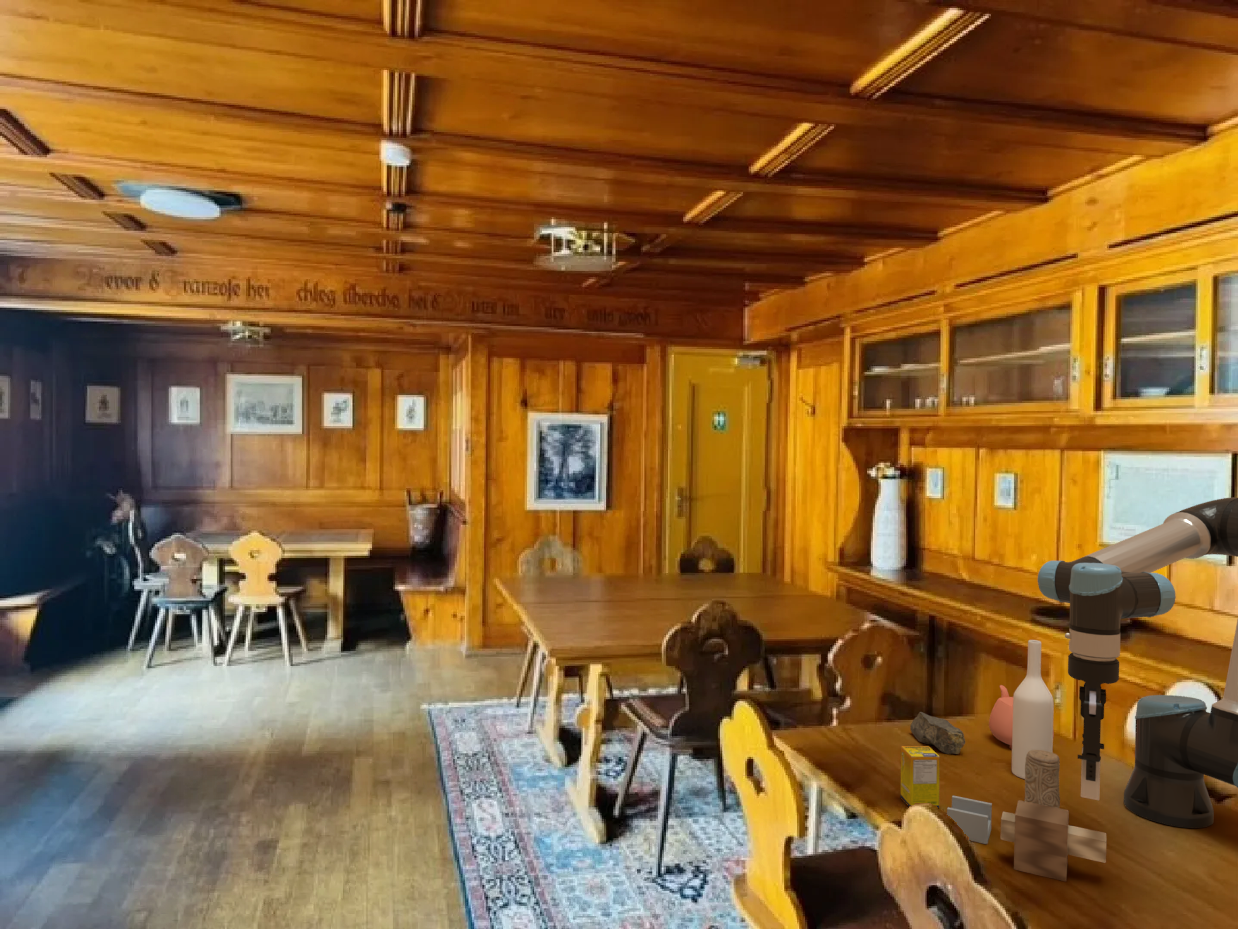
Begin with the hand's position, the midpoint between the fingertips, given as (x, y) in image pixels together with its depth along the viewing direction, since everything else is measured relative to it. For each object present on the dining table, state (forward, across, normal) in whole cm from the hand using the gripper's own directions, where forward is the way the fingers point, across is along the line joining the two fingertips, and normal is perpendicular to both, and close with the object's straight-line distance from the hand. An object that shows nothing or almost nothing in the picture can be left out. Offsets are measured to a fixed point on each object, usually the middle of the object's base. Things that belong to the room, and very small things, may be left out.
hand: (1090, 792), depth 142 cm
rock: (+15, -54, -32) cm, 65 cm away
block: (+15, 0, -7) cm, 16 cm away
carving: (+15, -24, -8) cm, 29 cm away
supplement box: (+15, -16, -30) cm, 37 cm away
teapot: (+15, -66, -15) cm, 69 cm away
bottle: (+15, -45, -11) cm, 49 cm away
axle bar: (+11, 0, -6) cm, 12 cm away
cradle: (+15, -7, -20) cm, 26 cm away
